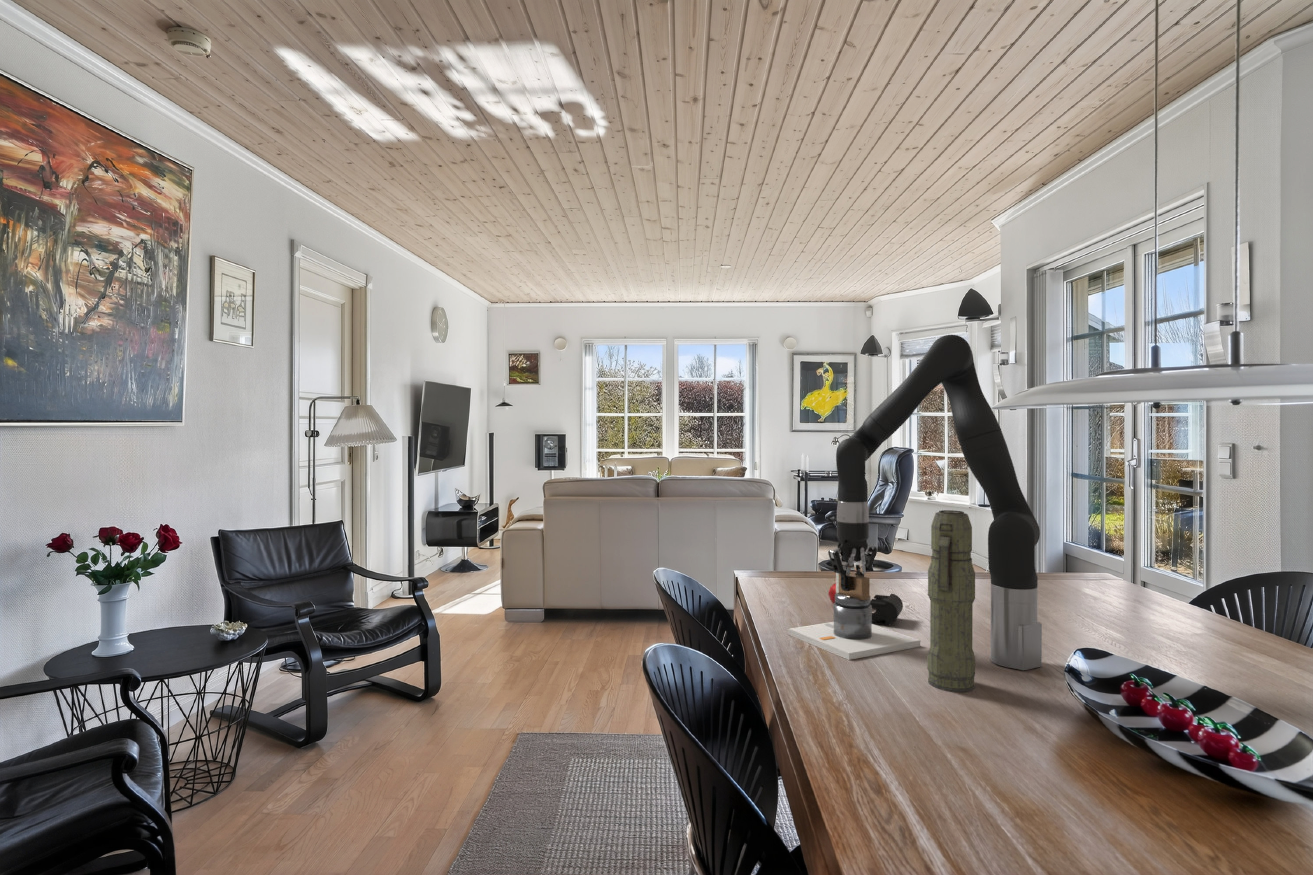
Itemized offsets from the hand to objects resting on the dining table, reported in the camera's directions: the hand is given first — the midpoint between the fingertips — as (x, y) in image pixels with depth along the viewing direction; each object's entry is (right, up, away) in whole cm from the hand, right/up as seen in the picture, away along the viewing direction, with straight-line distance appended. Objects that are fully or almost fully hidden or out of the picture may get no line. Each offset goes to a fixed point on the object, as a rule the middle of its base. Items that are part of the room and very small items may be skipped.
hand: (852, 589), depth 173 cm
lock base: (0, -12, 0) cm, 12 cm away
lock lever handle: (0, -3, 0) cm, 3 cm away
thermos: (+12, -13, -30) cm, 35 cm away
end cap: (+14, -13, +17) cm, 25 cm away
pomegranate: (+8, -12, +34) cm, 37 cm away
